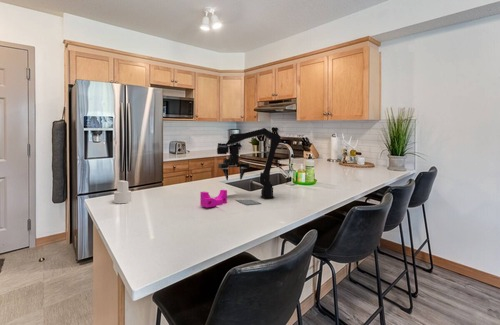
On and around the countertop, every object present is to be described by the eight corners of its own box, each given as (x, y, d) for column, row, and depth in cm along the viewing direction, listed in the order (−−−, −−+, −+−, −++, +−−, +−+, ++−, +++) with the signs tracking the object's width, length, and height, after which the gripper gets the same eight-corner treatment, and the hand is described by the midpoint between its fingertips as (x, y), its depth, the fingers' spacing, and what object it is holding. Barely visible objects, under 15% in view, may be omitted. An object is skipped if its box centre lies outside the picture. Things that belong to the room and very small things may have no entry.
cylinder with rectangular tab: (134, 201, 153) (133, 181, 153) (117, 204, 146) (117, 182, 146) (127, 200, 159) (127, 180, 159) (111, 201, 153) (111, 181, 152)
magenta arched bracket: (206, 207, 139) (206, 193, 139) (200, 205, 144) (200, 191, 144) (229, 204, 149) (229, 190, 149) (223, 202, 154) (223, 189, 154)
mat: (246, 199, 165) (246, 198, 165) (261, 204, 149) (261, 202, 149) (233, 200, 160) (233, 199, 160) (246, 205, 144) (246, 204, 144)
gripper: (242, 154, 175) (241, 178, 175) (215, 154, 166) (215, 179, 166) (250, 154, 165) (249, 179, 165) (221, 154, 156) (221, 180, 156)
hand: (234, 179), depth 164 cm, fingers open, 9 cm apart
